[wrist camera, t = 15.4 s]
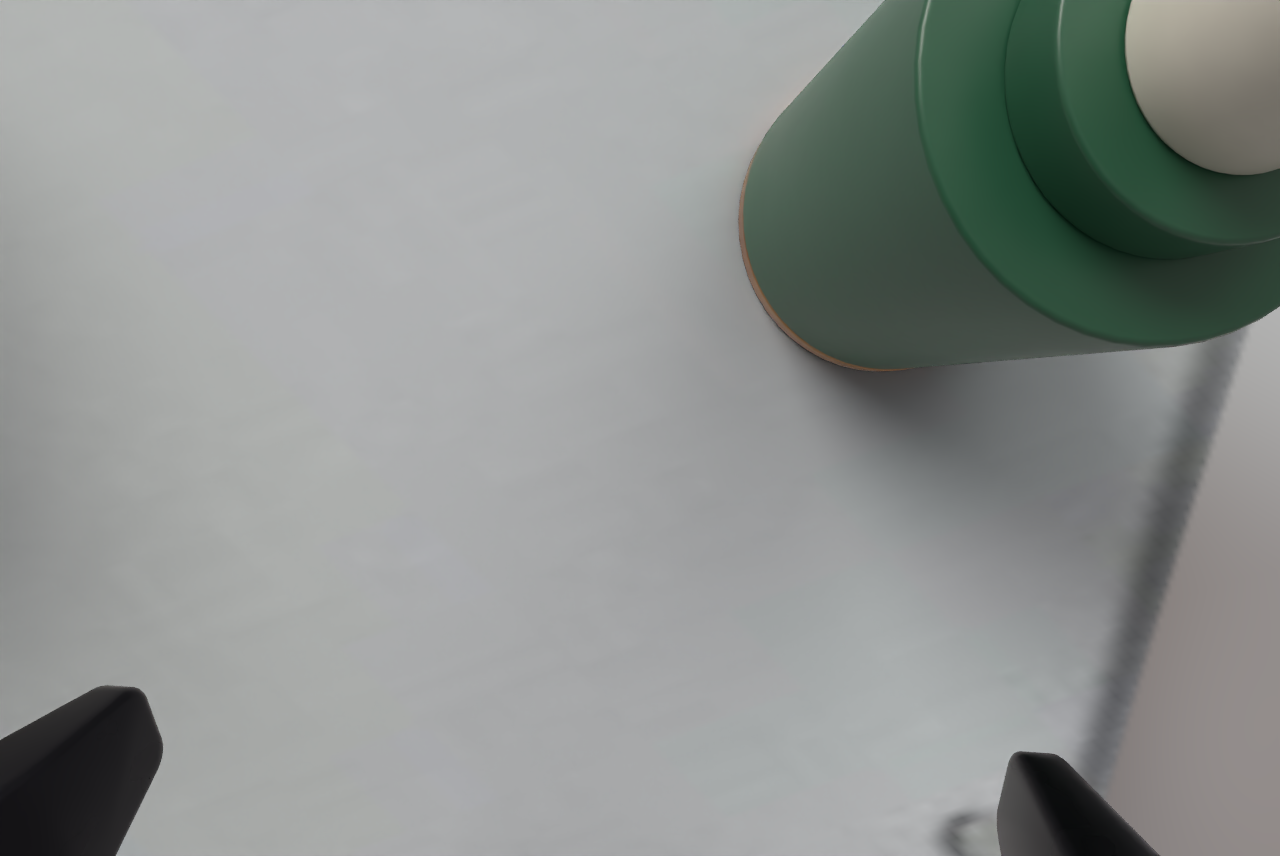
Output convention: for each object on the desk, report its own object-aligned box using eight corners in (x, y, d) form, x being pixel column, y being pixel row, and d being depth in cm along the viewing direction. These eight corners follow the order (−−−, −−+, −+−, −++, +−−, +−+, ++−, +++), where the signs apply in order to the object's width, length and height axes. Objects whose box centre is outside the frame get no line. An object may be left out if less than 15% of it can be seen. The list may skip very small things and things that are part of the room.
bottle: (952, 417, 18) (1655, 447, 7) (692, 290, 17) (1012, 86, 6) (1069, 154, 18) (1942, -233, 7) (818, 15, 17) (1358, -680, 6)
